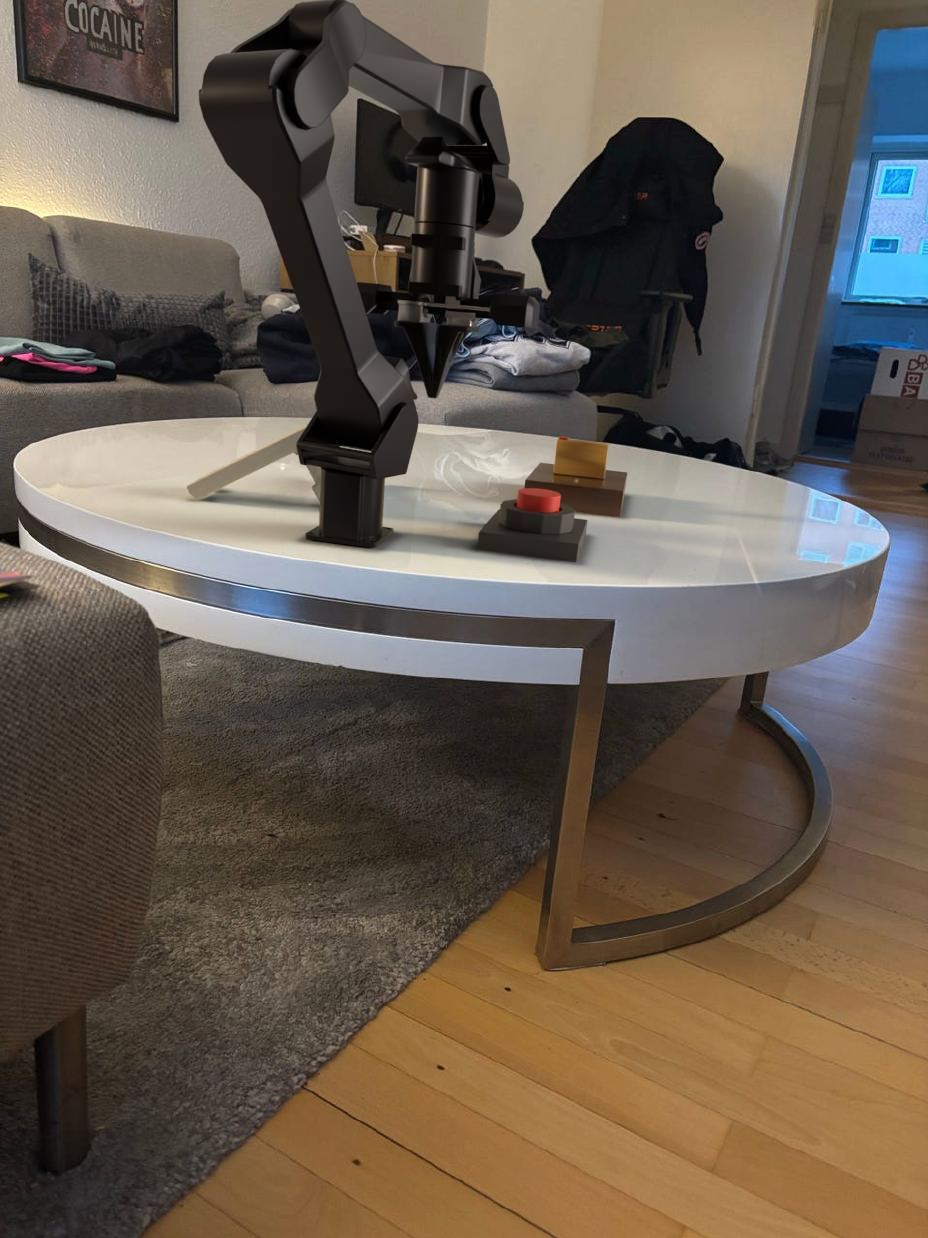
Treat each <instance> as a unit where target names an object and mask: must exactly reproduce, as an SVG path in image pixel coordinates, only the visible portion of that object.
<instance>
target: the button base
mask: <svg viewBox="0 0 928 1238" xmlns="http://www.w3.org/2000/svg"><path fill="white" fill-rule="evenodd" d="M575 515H576V512H575V509H573V508H571V507H569V506H567V505H564V504H560V506H559V511H558V512H537V511H528V510H524V509H520V508H517V498H514V499H506V500H503V501H502V502H501V503H500V506H499V508H498V510H497V511H496V512H494V514H493V515H492V516H491V517H490V519H488V521H487V522H485V524H484V525H483V527H481V529H480V530H479V531H478V537H477V538H478V539H477V548H476V549H477V550H480V551H487V552H496V553H501V554H511V555H518V556H525V557H532V558H533V557H534V558H541V559H548V560H549V559H550V560H555V561H556V560H557V561H564V562H571V563H572V562H573V563H577V562H578V559H579V556H580V553H581V550H582V548H583V545H584V541H585V539H586V535H587V529H588V528H587V526H588V519H583V518H575Z"/></svg>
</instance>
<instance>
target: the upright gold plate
mask: <svg viewBox="0 0 928 1238" xmlns="http://www.w3.org/2000/svg"><path fill="white" fill-rule="evenodd" d="M609 448H610V443H608V442H601V441H600V442H599V441H591V440H590V441H589V440H581V439H573V438H570V437H569V436H564V435H563V436H562V435H560V436H559V437H558V438H556V445H555V455H554V463H553V464H554V472H553V473H554V474H563V475H572V476H580V477H589V478H597V479H604V478H605V473H606V470H607V465H608V464H607V463H608V456H609Z"/></svg>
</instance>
